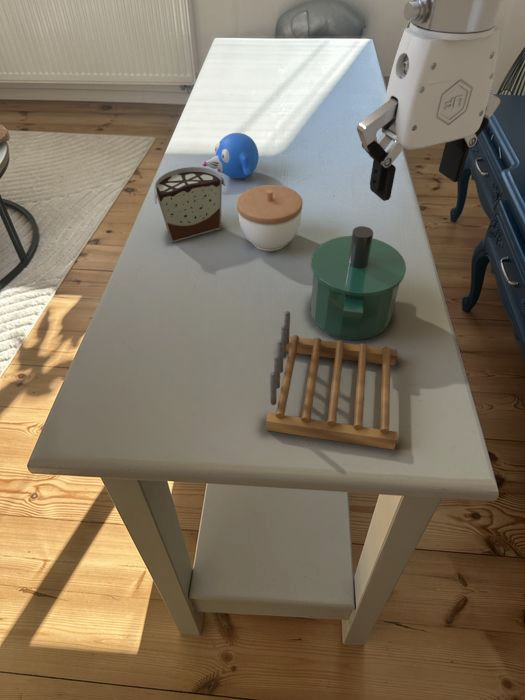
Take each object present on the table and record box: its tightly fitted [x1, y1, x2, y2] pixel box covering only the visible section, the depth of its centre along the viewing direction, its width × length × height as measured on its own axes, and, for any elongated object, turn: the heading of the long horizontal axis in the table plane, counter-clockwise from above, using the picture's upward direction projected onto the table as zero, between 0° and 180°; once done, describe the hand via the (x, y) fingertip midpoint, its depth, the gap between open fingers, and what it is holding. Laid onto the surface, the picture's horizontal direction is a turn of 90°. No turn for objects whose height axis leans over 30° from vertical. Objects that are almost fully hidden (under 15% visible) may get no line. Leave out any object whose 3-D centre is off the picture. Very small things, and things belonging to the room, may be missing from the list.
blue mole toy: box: [201, 132, 259, 179], centre depth 97 cm, size 12×12×8 cm
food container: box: [153, 166, 226, 243], centre depth 84 cm, size 12×6×10 cm, turn 116°
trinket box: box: [236, 184, 303, 252], centre depth 81 cm, size 11×11×9 cm
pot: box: [310, 273, 400, 341], centre depth 68 cm, size 12×17×8 cm
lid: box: [310, 225, 407, 296], centre depth 64 cm, size 13×13×6 cm
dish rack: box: [265, 310, 398, 450], centre depth 58 cm, size 15×14×8 cm
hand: (414, 185), depth 56 cm, fingers open, 9 cm apart
